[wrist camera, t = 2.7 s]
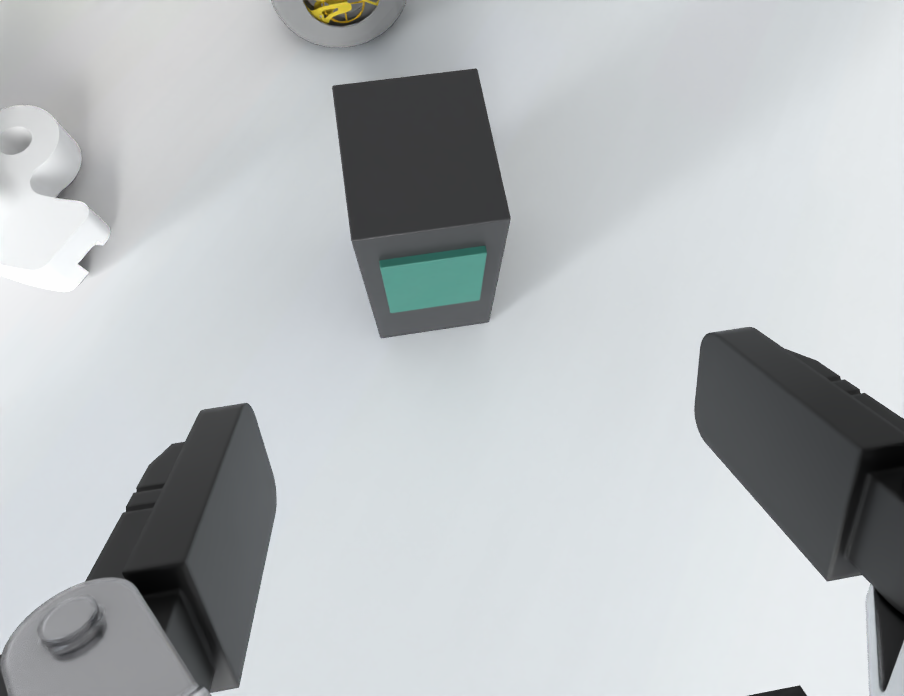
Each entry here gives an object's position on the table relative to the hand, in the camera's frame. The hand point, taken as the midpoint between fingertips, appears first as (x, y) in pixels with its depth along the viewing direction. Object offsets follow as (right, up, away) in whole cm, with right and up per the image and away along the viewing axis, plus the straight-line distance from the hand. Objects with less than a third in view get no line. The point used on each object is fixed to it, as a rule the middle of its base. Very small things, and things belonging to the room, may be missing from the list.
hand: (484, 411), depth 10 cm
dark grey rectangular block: (-2, +5, +17) cm, 18 cm away
